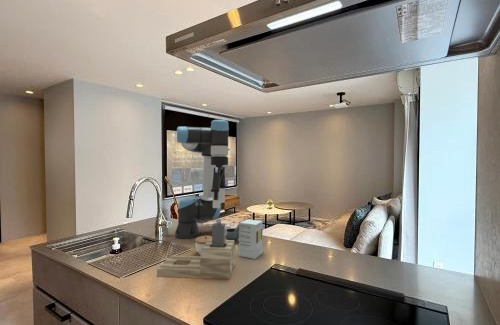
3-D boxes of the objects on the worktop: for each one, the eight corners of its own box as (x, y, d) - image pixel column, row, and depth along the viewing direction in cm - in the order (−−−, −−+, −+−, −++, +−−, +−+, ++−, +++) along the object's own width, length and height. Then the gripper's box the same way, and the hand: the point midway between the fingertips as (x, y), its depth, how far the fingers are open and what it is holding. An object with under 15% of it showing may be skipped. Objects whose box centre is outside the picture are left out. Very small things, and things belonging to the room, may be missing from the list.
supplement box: (255, 259, 124) (255, 224, 124) (238, 256, 128) (238, 222, 128) (262, 253, 133) (263, 220, 133) (246, 250, 137) (247, 218, 137)
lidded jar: (191, 257, 126) (191, 238, 126) (199, 249, 137) (199, 232, 137) (212, 258, 125) (212, 239, 124) (218, 251, 135) (219, 233, 135)
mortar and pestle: (222, 244, 147) (222, 223, 147) (227, 239, 156) (227, 219, 156) (241, 245, 144) (241, 224, 144) (245, 240, 153) (245, 220, 153)
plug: (213, 250, 113) (214, 218, 113) (226, 250, 113) (227, 219, 113) (211, 253, 109) (212, 220, 109) (225, 253, 109) (225, 221, 109)
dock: (170, 261, 120) (170, 238, 120) (234, 264, 118) (234, 240, 118) (157, 276, 105) (157, 249, 105) (229, 278, 103) (229, 251, 103)
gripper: (223, 155, 98) (223, 210, 98) (231, 156, 123) (231, 200, 123) (204, 155, 99) (203, 210, 99) (216, 156, 124) (216, 200, 124)
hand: (219, 205), depth 111 cm, fingers open, 13 cm apart
